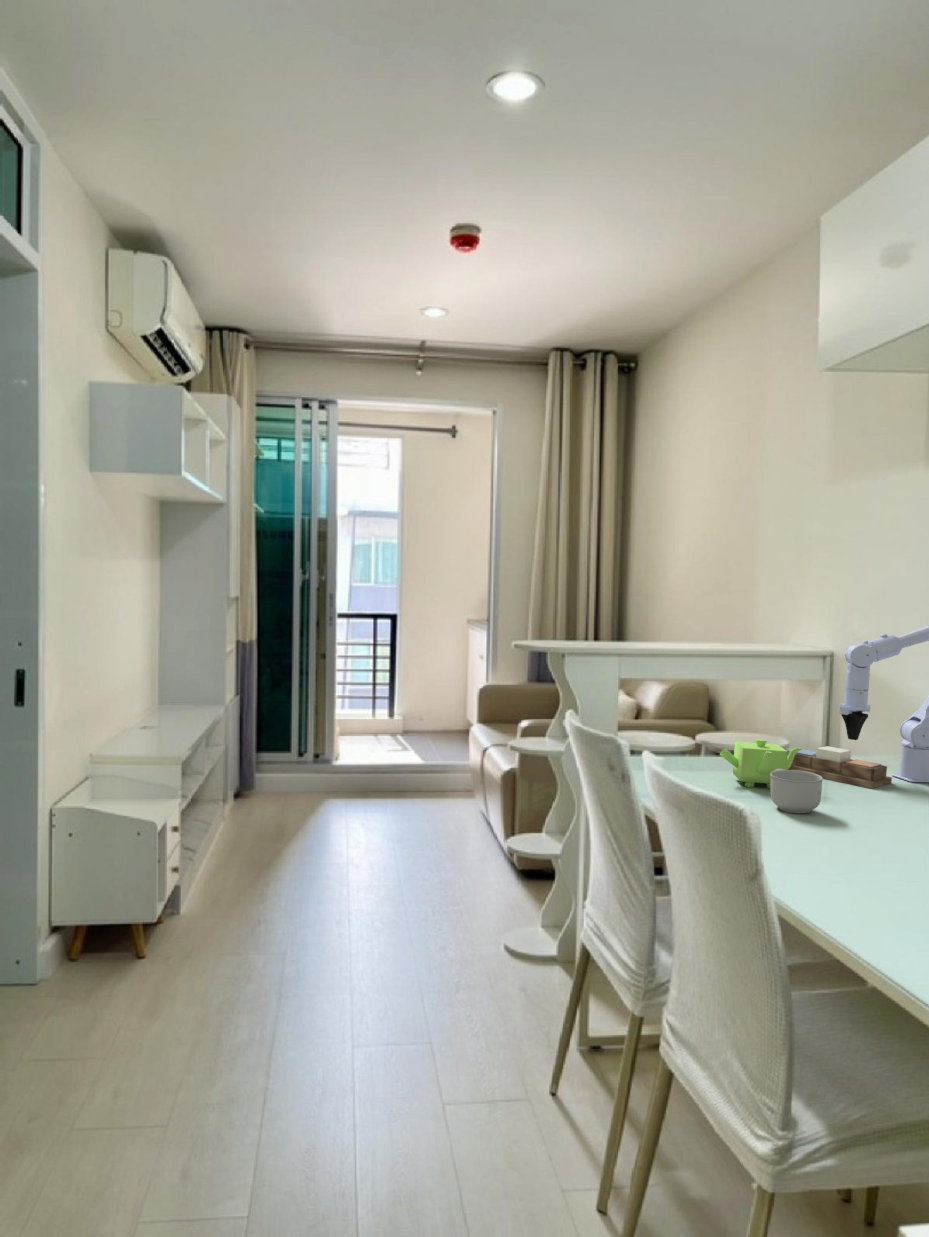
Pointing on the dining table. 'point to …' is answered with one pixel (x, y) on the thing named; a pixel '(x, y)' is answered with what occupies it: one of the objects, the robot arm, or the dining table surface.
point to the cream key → (833, 754)
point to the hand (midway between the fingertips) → (852, 739)
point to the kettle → (758, 761)
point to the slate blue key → (805, 752)
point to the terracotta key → (864, 764)
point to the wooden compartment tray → (842, 771)
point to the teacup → (796, 790)
